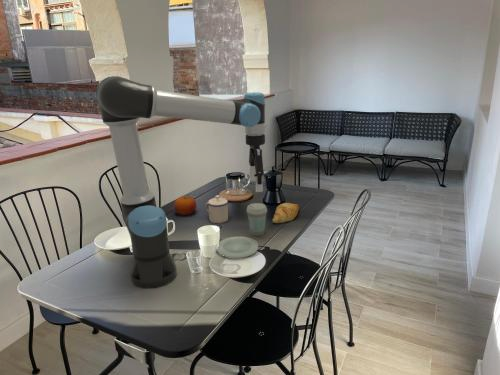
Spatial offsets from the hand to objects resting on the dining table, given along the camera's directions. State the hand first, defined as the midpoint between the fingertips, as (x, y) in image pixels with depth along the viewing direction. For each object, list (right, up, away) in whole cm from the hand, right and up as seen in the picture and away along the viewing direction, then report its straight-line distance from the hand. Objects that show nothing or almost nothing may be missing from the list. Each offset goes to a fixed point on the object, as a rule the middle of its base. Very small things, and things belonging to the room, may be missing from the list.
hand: (256, 186), depth 148 cm
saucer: (-7, -24, -7) cm, 26 cm away
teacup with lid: (-18, -15, +21) cm, 32 cm away
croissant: (+14, -14, +22) cm, 30 cm away
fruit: (-33, -13, +29) cm, 46 cm away
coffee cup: (+1, -20, +7) cm, 21 cm away
